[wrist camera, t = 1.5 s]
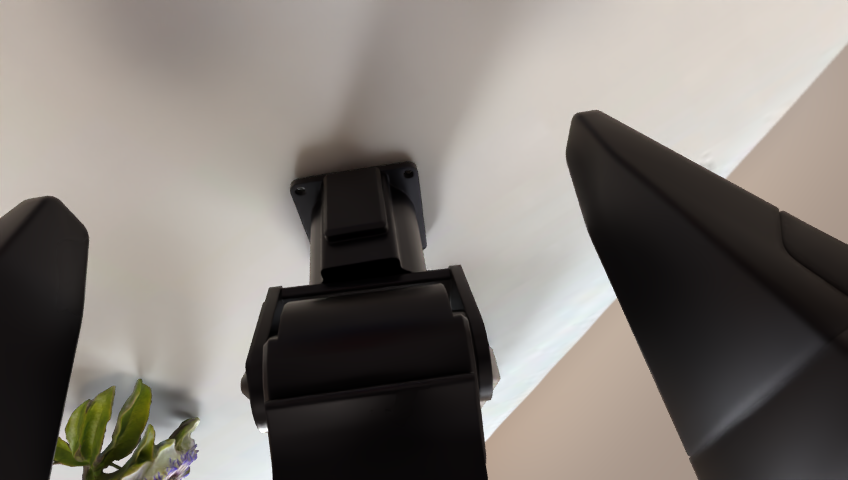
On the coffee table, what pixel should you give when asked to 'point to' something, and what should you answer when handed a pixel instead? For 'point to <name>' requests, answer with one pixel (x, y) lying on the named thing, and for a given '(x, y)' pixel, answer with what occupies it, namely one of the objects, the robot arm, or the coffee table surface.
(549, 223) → the coffee table surface
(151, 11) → the coffee table surface
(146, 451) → the passion flower
